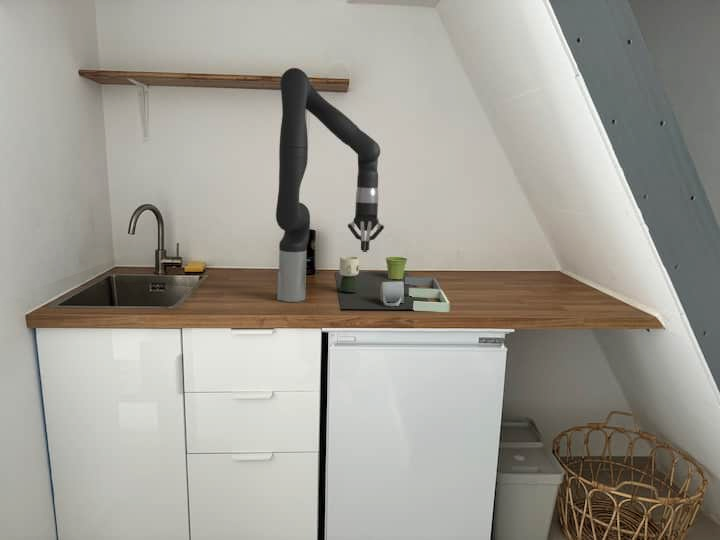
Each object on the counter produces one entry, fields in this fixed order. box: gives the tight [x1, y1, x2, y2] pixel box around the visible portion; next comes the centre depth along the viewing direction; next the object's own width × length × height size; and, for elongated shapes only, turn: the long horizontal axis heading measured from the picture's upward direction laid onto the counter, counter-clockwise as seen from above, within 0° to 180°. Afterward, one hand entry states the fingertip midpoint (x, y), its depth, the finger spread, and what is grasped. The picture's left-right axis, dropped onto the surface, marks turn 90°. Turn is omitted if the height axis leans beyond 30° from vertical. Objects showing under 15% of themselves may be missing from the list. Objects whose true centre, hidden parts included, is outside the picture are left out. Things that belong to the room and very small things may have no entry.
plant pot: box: [384, 256, 408, 280], centre depth 223 cm, size 9×9×9 cm
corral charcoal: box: [404, 276, 443, 295], centre depth 204 cm, size 12×20×3 cm, turn 179°
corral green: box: [408, 287, 451, 313], centre depth 184 cm, size 12×20×3 cm, turn 179°
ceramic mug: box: [380, 281, 405, 307], centre depth 182 cm, size 11×8×8 cm
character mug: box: [339, 255, 360, 294], centre depth 195 cm, size 11×7×13 cm, turn 10°
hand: (364, 251), depth 181 cm, fingers closed
